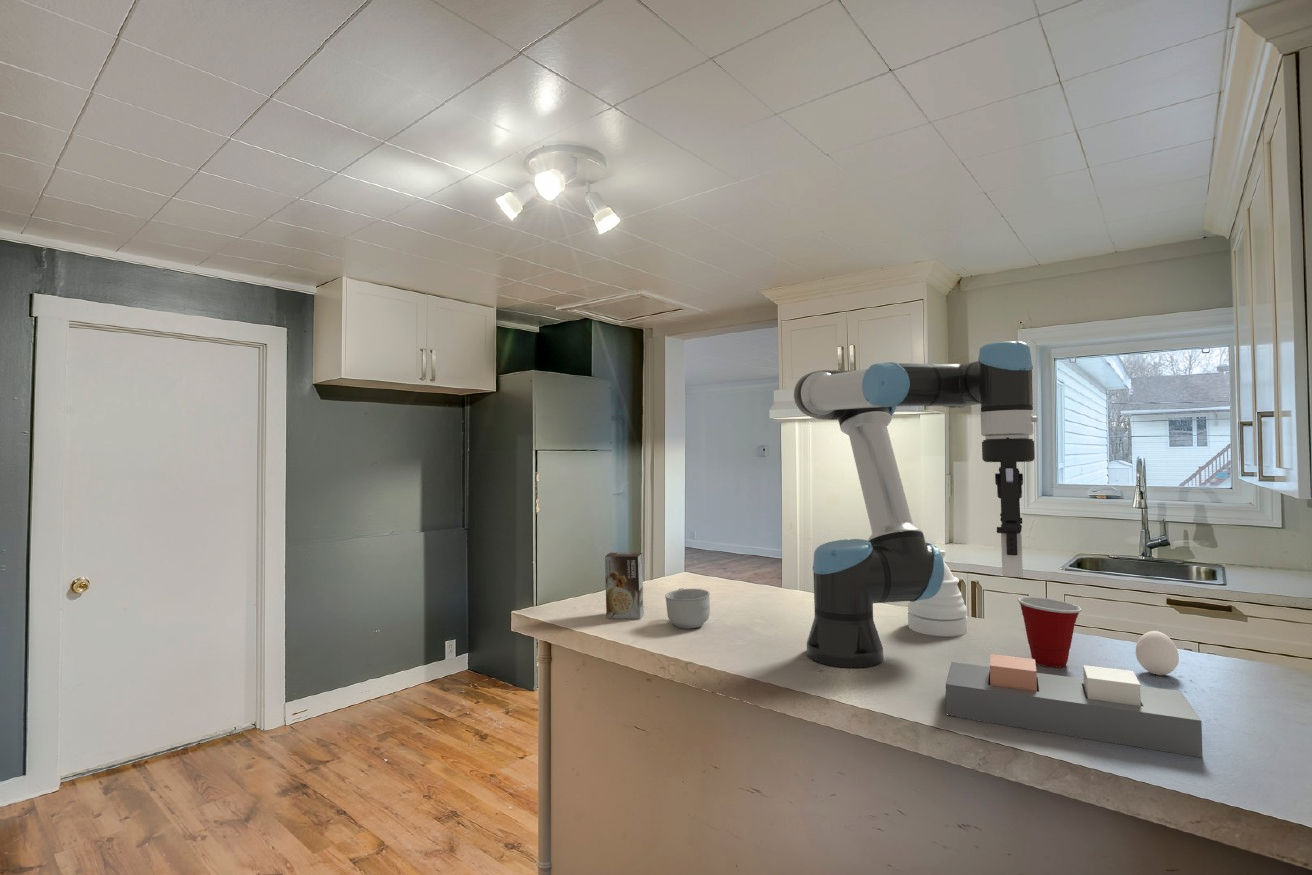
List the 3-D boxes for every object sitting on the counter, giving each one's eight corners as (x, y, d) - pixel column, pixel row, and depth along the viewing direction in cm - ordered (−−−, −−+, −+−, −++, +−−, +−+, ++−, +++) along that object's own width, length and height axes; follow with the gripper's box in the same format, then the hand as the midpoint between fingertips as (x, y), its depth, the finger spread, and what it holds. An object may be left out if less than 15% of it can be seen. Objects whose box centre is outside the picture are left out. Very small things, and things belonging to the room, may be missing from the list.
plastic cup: (1093, 673, 122) (1092, 609, 122) (1030, 670, 124) (1028, 607, 124) (1069, 655, 132) (1067, 596, 133) (1011, 653, 135) (1009, 594, 135)
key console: (946, 715, 104) (945, 683, 104) (952, 690, 115) (951, 661, 115) (1202, 757, 89) (1201, 720, 89) (1182, 724, 100) (1181, 691, 100)
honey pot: (926, 618, 163) (924, 546, 163) (978, 629, 153) (976, 551, 153) (897, 627, 155) (895, 551, 155) (950, 639, 145) (948, 558, 145)
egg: (1127, 669, 124) (1126, 627, 124) (1158, 667, 125) (1157, 626, 125) (1156, 681, 118) (1154, 636, 118) (1188, 679, 118) (1187, 635, 118)
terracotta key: (990, 690, 104) (989, 665, 104) (991, 677, 109) (990, 653, 109) (1037, 697, 101) (1036, 671, 101) (1035, 683, 106) (1034, 659, 106)
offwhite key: (1088, 704, 98) (1087, 677, 98) (1083, 690, 103) (1083, 664, 103) (1141, 712, 95) (1140, 684, 95) (1133, 697, 100) (1132, 670, 100)
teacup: (711, 631, 154) (711, 597, 154) (665, 632, 154) (665, 598, 155) (707, 616, 168) (707, 585, 168) (665, 616, 168) (665, 585, 168)
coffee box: (644, 613, 172) (643, 552, 173) (640, 619, 166) (639, 556, 166) (610, 612, 174) (609, 551, 174) (605, 618, 167) (604, 555, 168)
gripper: (1038, 435, 94) (1043, 584, 93) (1030, 438, 116) (1034, 558, 115) (980, 437, 97) (984, 580, 97) (983, 439, 119) (986, 556, 119)
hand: (1011, 569), depth 106 cm, fingers open, 13 cm apart
